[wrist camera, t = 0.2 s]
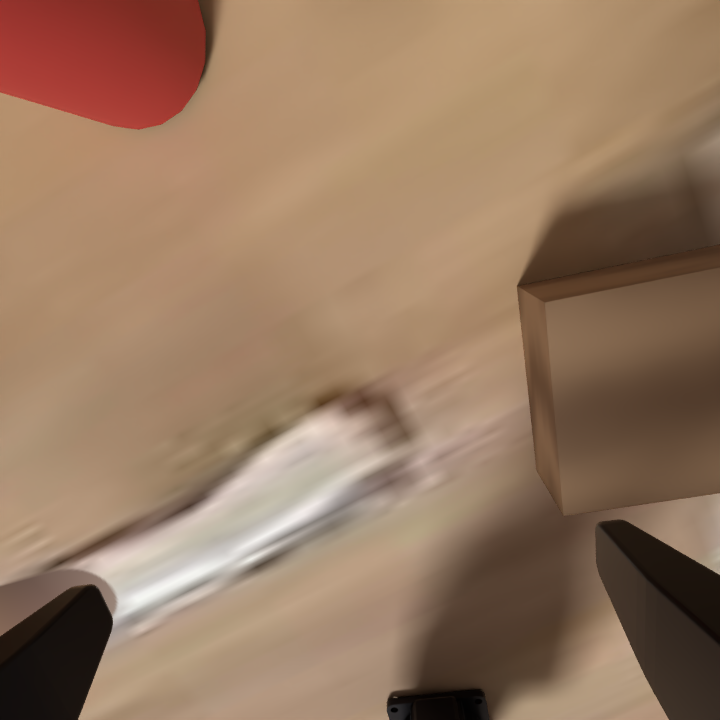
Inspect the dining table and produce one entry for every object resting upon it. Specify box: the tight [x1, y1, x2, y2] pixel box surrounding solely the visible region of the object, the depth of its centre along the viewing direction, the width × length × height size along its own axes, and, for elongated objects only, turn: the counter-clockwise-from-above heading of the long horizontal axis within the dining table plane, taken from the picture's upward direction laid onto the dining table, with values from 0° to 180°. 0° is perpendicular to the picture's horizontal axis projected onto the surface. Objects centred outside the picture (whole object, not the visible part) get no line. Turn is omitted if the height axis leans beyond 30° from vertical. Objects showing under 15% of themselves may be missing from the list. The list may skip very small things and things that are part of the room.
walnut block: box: [517, 245, 720, 516], centre depth 20 cm, size 10×10×4 cm
